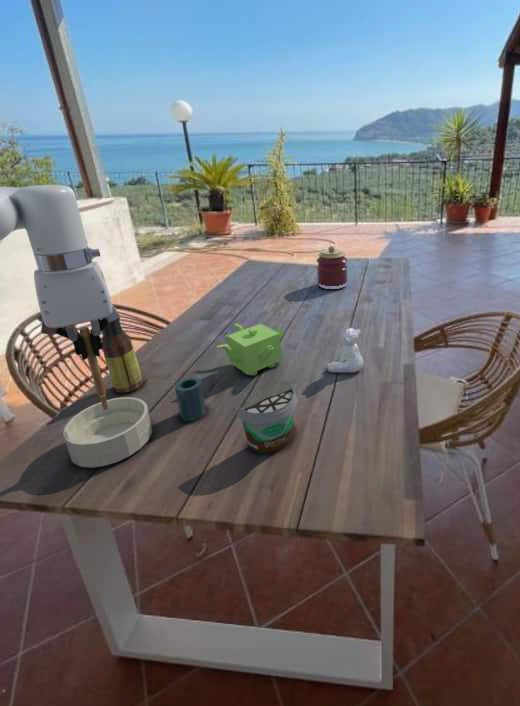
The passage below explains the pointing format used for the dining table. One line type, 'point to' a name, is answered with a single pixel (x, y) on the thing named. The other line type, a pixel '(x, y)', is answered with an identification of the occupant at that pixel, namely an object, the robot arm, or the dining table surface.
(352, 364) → the sitting furry creature
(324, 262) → the kitchen canister
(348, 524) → the dining table surface
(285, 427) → the food container
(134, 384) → the sauce bottle
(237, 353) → the kettle
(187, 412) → the crock
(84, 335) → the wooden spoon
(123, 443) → the bowl
